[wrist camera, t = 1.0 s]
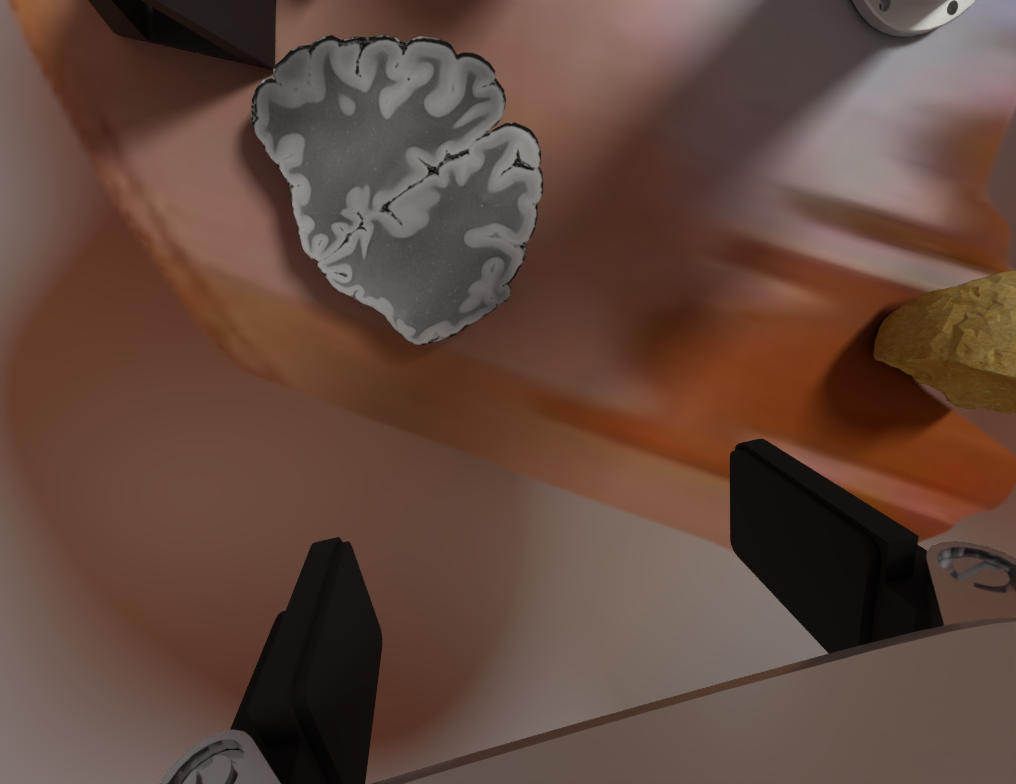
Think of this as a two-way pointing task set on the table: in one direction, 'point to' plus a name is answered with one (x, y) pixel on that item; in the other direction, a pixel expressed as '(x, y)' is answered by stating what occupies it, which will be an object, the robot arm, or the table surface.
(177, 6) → the phone stand
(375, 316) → the table surface
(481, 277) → the brain slice
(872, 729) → the robot arm
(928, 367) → the decorative stone
